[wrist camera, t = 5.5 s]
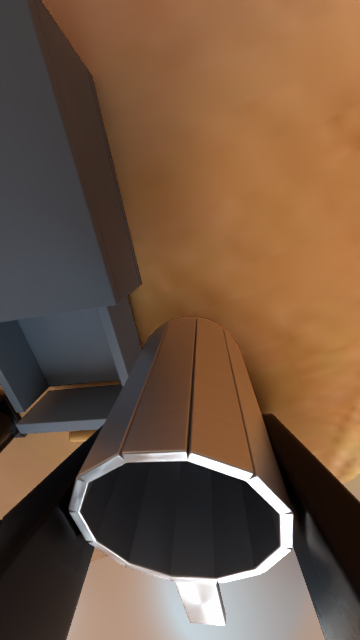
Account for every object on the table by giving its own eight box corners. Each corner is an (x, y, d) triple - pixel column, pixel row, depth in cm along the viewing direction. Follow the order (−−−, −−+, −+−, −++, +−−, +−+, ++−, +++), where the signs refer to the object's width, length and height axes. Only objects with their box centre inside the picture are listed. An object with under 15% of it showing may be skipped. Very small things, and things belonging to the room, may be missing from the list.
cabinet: (142, 283, 19) (116, 305, 13) (10, 305, 21) (-63, 331, 16) (91, 74, 14) (16, -38, 8) (-75, 128, 16) (-231, 67, 10)
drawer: (166, 416, 24) (158, 456, 20) (64, 423, 26) (36, 461, 21) (126, 261, 18) (103, 269, 14) (-3, 284, 20) (-60, 298, 15)
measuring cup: (246, 432, 13) (291, 634, 7) (165, 436, 14) (132, 620, 7) (235, 309, 10) (296, 446, 4) (134, 323, 11) (34, 456, 5)
